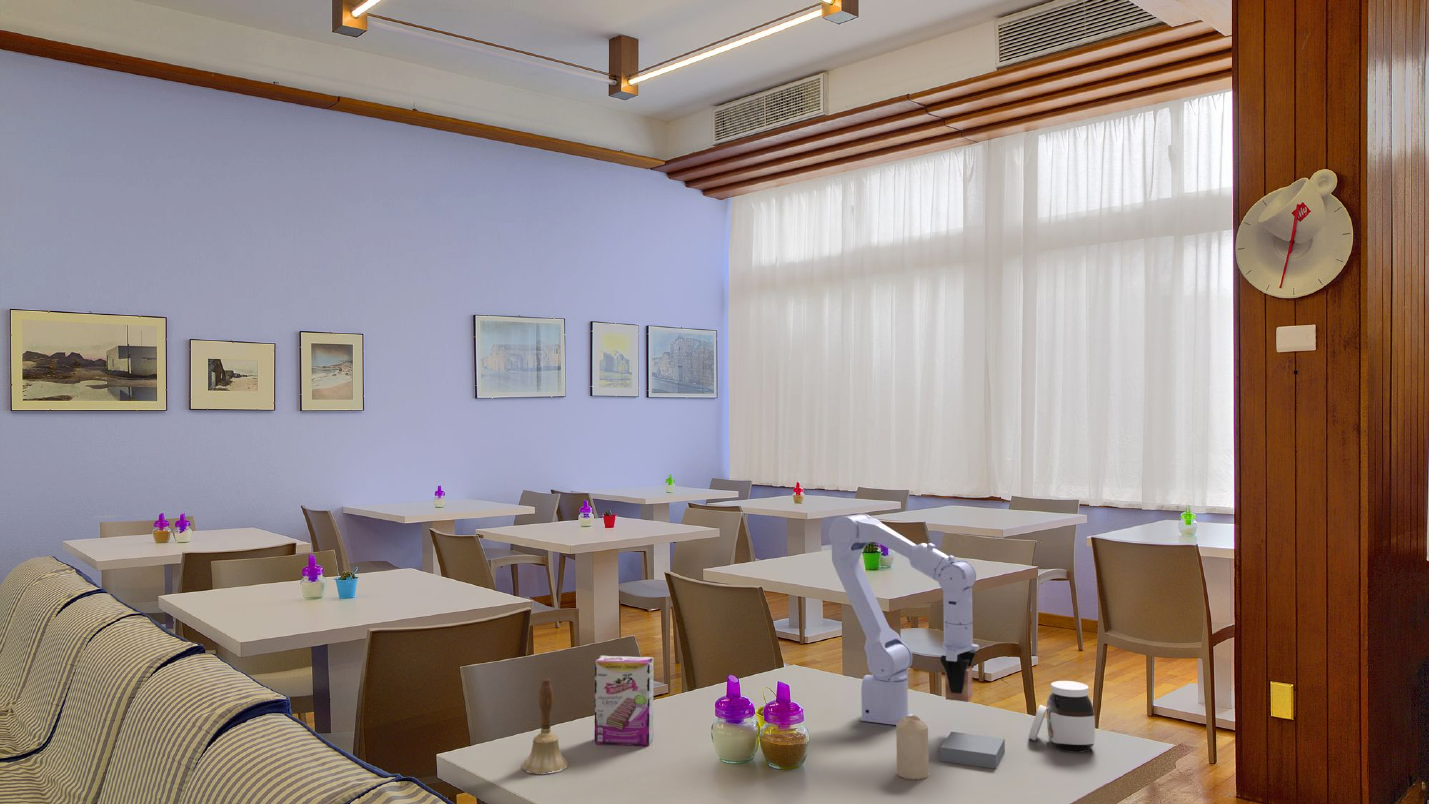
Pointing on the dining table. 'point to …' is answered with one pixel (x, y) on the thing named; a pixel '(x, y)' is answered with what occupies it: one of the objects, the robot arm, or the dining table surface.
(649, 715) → the candy bar box
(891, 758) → the dining table surface
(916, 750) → the candle
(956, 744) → the base
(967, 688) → the block
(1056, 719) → the spread jar
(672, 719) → the dining table surface
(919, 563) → the robot arm
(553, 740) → the hand bell
